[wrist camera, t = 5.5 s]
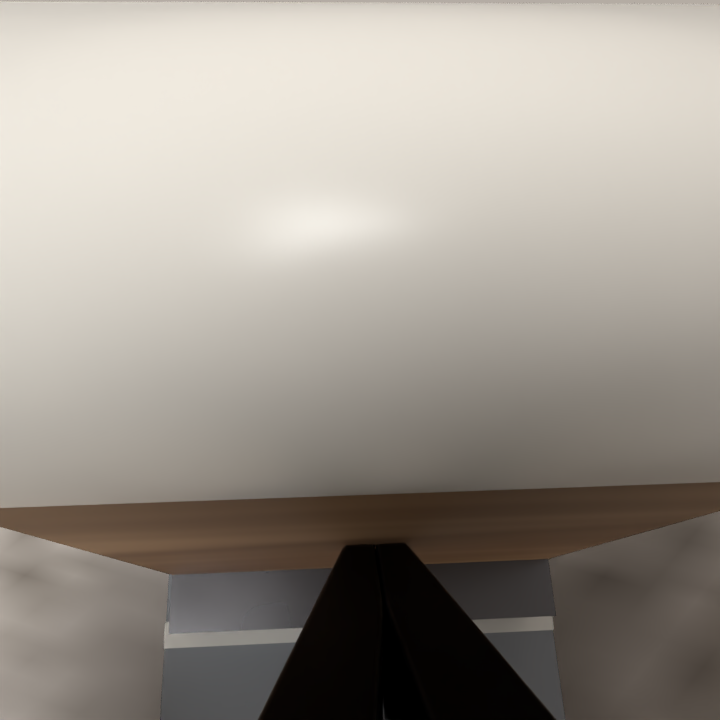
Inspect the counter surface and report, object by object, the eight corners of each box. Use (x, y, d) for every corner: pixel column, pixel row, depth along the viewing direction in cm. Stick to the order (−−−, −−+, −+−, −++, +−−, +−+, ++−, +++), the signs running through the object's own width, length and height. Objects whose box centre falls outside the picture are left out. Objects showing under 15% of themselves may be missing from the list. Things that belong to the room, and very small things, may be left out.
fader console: (564, 932, 13) (604, 985, 11) (169, 960, 13) (139, 1022, 11) (482, 284, 19) (500, 244, 17) (203, 289, 18) (188, 249, 16)
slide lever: (530, 616, 13) (1683, 596, 2) (187, 632, 13) (-843, 721, 2) (506, 428, 15) (1085, -204, 3) (197, 438, 14) (-301, -236, 3)
